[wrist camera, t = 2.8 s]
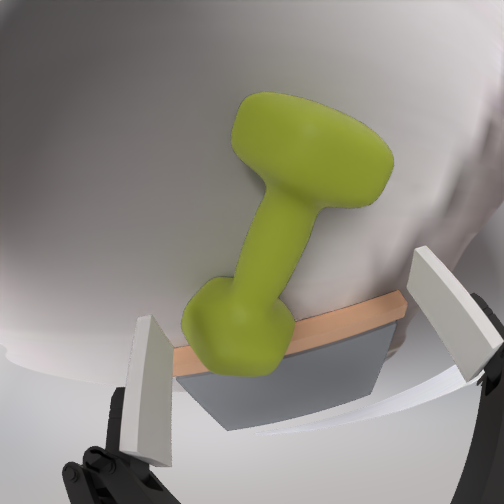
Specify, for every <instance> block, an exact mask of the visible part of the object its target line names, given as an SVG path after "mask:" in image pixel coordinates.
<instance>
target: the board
mask: <svg viewBox="0 0 504 504" xmlns="http://www.w3.org/2000/svg"><path fill="white" fill-rule="evenodd" d="M396 325H397V322H396V321H392V322H389V323H387V324H384V325H381V326H379V327H376V328H373V329H370V330H367V331H365V332H362V333H359V334H356V335H353V336H350V337H347V338H343V339H340V340H337V341H334V342H331V343H327V344H324V345H321V346H317V347H314V348H310V349H307V350H303V351H299V352H295V353H292V354H288V355H284V357H283V359H282V360H281V362H280V363H279V365H278V366H277V368H276V369H275V370H274V371H273V372H272V373H270V374H268V375H265V376H258V377H238V376H225V375H219V374H215V373H213V372H211V371H208V372H202V373H196V374H189V375H182V376H176V380H177V381H178V382H179V383H180V384H181V385H182V386H183V388H184V389H185V390H186V391H187V392H188V393H189V394H190V395H191V396H192V397H193V398H194V399H195V400H196V401H197V402H198V403H199V404H200V405H201V406H202V407H203V408H204V409H205V410H206V411H207V412H208V413H209V414H210V415H211V416H212V417H213V418H214V419H215V420H216V421H217V422H218V423H219V424H220V425H221V426H222V427H223V428H225V429H226V430H227V431H229V430H237V429H243V428H249V427H255V426H260V425H265V424H270V423H275V422H280V421H284V420H288V419H292V418H296V417H300V416H304V415H308V414H312V413H315V412H319V411H322V410H325V409H328V408H332V407H335V406H338V405H342V404H345V403H347V402H350V401H353V400H356V399H359V398H362V397H364V396H367V395H370V394H371V392H372V390H373V387H374V385H375V383H376V380H377V378H378V375H379V373H380V370H381V368H382V365H383V362H384V360H385V357H386V354H387V351H388V349H389V346H390V343H391V340H392V337H393V334H394V331H395V328H396Z"/></svg>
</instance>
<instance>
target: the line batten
mask: <svg viewBox="0 0 504 504" xmlns="http://www.w3.org/2000/svg"><path fill="white" fill-rule="evenodd" d="M407 306H408V303H407V302H406V300H405V299H404V297H403V296H402V294H401V293H400V291H399V290H397V291H394V292H391V293H388V294H385V295H382V296H380V297H377V298H374V299H371V300H368V301H364V302H361V303H358V304H355V305H352V306H349V307H345V308H342V309H339V310H336V311H332V312H329V313H325V314H322V315H318V316H315V317H311V318H308V319H304V320H300V321H297V322H295V328H294V332H293V336H292V339H291V341H290V344H289V346H288V349H287V351H286V353H285V355H288V354H292V353H295V352H299V351H303V350H307V349H310V348H314V347H317V346H321V345H324V344H327V343H331V342H334V341H337V340H340V339H343V338H347V337H350V336H353V335H356V334H359V333H362V332H365V331H367V330H370V329H373V328H376V327H379V326H381V325H384V324H387V323H389V322H392V321H395V320H397V319H400V318H402V317H404V315H405V312H406V309H407ZM208 371H209V370H208V369H207V368H206V367H205V366H204V365H203V364H202V362H201V361H200V360H199V358H198V357H197V355H196V354H195V352H194V351H193V349H192V348H191V346H190V345H189V346H183V347H178V348H174V356H173V376H172V377H175V376H182V375H189V374H196V373H202V372H208Z"/></svg>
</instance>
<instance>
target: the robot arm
mask: <svg viewBox="0 0 504 504" xmlns="http://www.w3.org/2000/svg"><path fill="white" fill-rule="evenodd" d="M407 290H408V291H409V293H410V294H411V295H412V297H413V298H414V300H415V301H416V302H417V304H418V305H419V307H420V308H421V310H422V311H423V313H424V314H425V315H426V317H427V318H428V320H429V321H430V323H431V325H432V326H433V328H434V329H435V330H436V332H437V334H438V335H439V337H440V338H441V340H442V342H443V343H444V345H445V347H446V348H447V349H448V352H449V353H450V355H451V357H452V358H453V359H454V362H455V363H456V365H457V367H458V369H459V370H460V372H461V374H462V376H463V377H464V379H465V381H466V383H467V382H469V381H470V380H472V379H473V378H475V377H476V376H478V375H479V373H480V372H481V371H482V370H483V369H484V371H485V373H484V374H483V375H482V376H481V378H480V379H479V380H478V381H477V385H479V384H480V383H481V382H482V381H483V382H482V384H481V386H482V390H481V397H480V403H479V409H478V415H477V420H476V425H475V429H474V434H473V438H472V442H471V446H470V449H469V453H468V456H467V460H466V463H465V466H464V470H463V472H462V475H461V478H460V481H459V483H458V486H457V489H456V491H455V494H454V496H453V499H452V501H451V503H450V504H504V326H503V325H502V323H501V322H500V320H499V319H498V318H497V317H496V315H495V314H493V311H492V310H491V309H490V308H489V307H488V305H487V304H486V302H485V301H484V300H483V299H482V298H481V297H480V296H478V295H477V294H475V293H472V294H470V295H469V293H468V292H467V291H466V290H465V289H464V287H463V286H462V285H461V284H460V283H459V281H458V280H457V279H456V278H455V277H454V276H453V274H452V273H451V272H450V271H449V270H448V269H447V268H446V266H445V265H444V264H443V263H442V262H441V261H440V260H439V259H438V258H437V257H436V256H435V255H434V253H433V252H432V251H431V250H430V249H429V248H428V247H427V246H426V245H425V246H422V247H419V248H415V249H414V255H413V260H412V265H411V270H410V275H409V279H408V284H407ZM173 356H174V347H173V346H172V344H171V343H170V341H169V340H168V339H167V337H166V336H165V334H164V333H163V331H162V330H161V328H160V327H159V325H158V324H157V322H156V321H155V319H154V317H153V316H152V315H147V316H141V317H138V319H137V323H136V328H135V333H134V339H133V344H132V350H131V355H130V361H129V368H128V374H127V381H126V387H118V388H116V390H115V392H114V394H113V396H112V398H111V405H110V409H111V410H110V412H109V420H108V429H107V438H106V448H105V449H103V448H101V447H98V446H92V447H90V448H88V449H87V450H86V451H85V453H84V456H83V464H82V465H80V464H78V463H75V462H68V463H67V464H65V466H64V467H63V471H62V476H63V481H64V484H65V487H66V490H67V494H68V497H69V499H70V502H71V504H181V503H180V502H179V501H178V500H177V499H176V498H175V497H174V496H173V495H172V494H171V493H170V492H169V491H168V489H167V488H166V487H165V486H164V485H163V484H162V483H161V482H160V481H159V479H158V478H157V477H156V476H155V475H154V474H153V472H152V471H150V470H149V464H150V465H153V466H155V467H172V455H171V408H172V407H171V406H172V376H173Z"/></svg>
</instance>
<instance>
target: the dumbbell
mask: <svg viewBox="0 0 504 504" xmlns="http://www.w3.org/2000/svg"><path fill="white" fill-rule="evenodd" d="M231 146H232V148H233V150H234V152H235V154H236V155H237V156H238V157H239V158H240V159H241V161H243V162H244V163H245V164H246V165H248V166H249V167H250V168H251V169H252V170H253V171H255V172H256V173H257V174H258V175H259V176H260V177H261V178H262V179H263V181H264V183H265V185H266V192H265V195H264V197H263V200H262V202H261V203H260V205H259V207H258V209H257V211H256V214H255V216H254V218H253V221H252V223H251V226H250V228H249V231H248V233H247V236H246V238H245V241H244V244H243V247H242V250H241V253H240V256H239V259H238V263H237V266H236V270H235V275H234V278H230V277H216V278H213V279H211V280H209V281H208V282H207V283H206V284H205V285H204V286H203V287H202V288H201V289H200V290H199V291H198V292H197V293H196V294H195V295H194V296H193V297H192V299H191V300H190V301H189V302H188V304H187V306H186V308H185V310H184V313H183V317H182V321H181V328H182V332H183V334H184V336H185V338H186V340H187V341H188V343H189V345H190V346H191V348H192V349H193V351H194V352H195V354H196V355H197V357H198V358H199V360H200V361H201V362H202V364H203V365H204V366H205V367H206V368H207V369H208V370H209V371H211V372H213V373H215V374H219V375H225V376H238V377H258V376H265V375H268V374H270V373H272V372H273V371H274V370H275V369H276V368H277V366H278V365H279V363H280V362H281V360H282V359H283V357H284V355H285V353H286V351H287V349H288V346H289V344H290V341H291V339H292V336H293V332H294V328H295V320H294V317H293V315H292V314H291V312H290V311H289V309H288V308H287V307H286V305H285V304H284V303H283V302H282V301H281V300H280V299H279V298H278V297H279V295H280V294H281V293H282V291H283V290H284V288H285V286H286V285H287V283H288V281H289V279H290V277H291V275H292V273H293V271H294V269H295V267H296V265H297V263H298V261H299V259H300V257H301V255H302V253H303V251H304V249H305V247H306V245H307V242H308V240H309V238H310V235H311V232H312V229H313V225H314V222H315V220H316V217H317V215H318V213H319V212H320V211H321V210H322V209H324V208H326V207H339V208H361V207H364V206H367V205H371V204H372V203H373V202H374V201H376V200H377V199H378V197H379V196H380V195H381V193H382V191H383V190H384V188H385V186H386V184H387V182H388V180H389V177H390V175H391V173H392V170H393V167H394V158H393V155H392V152H391V150H390V149H389V147H388V145H387V144H386V143H385V142H384V141H383V140H382V138H381V137H380V136H379V135H377V134H376V133H375V132H374V131H373V130H371V129H370V128H369V127H367V126H366V125H364V124H363V123H361V122H359V121H358V120H356V119H354V118H352V117H350V116H348V115H346V114H344V113H342V112H339V111H337V110H335V109H332V108H330V107H328V106H325V105H322V104H320V103H317V102H314V101H311V100H308V99H304V98H300V97H296V96H292V95H287V94H282V93H276V92H259V93H255V94H252V95H250V96H248V97H247V98H245V99H244V100H243V101H242V103H241V105H240V107H239V109H238V112H237V115H236V118H235V121H234V124H233V128H232V133H231Z"/></svg>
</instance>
